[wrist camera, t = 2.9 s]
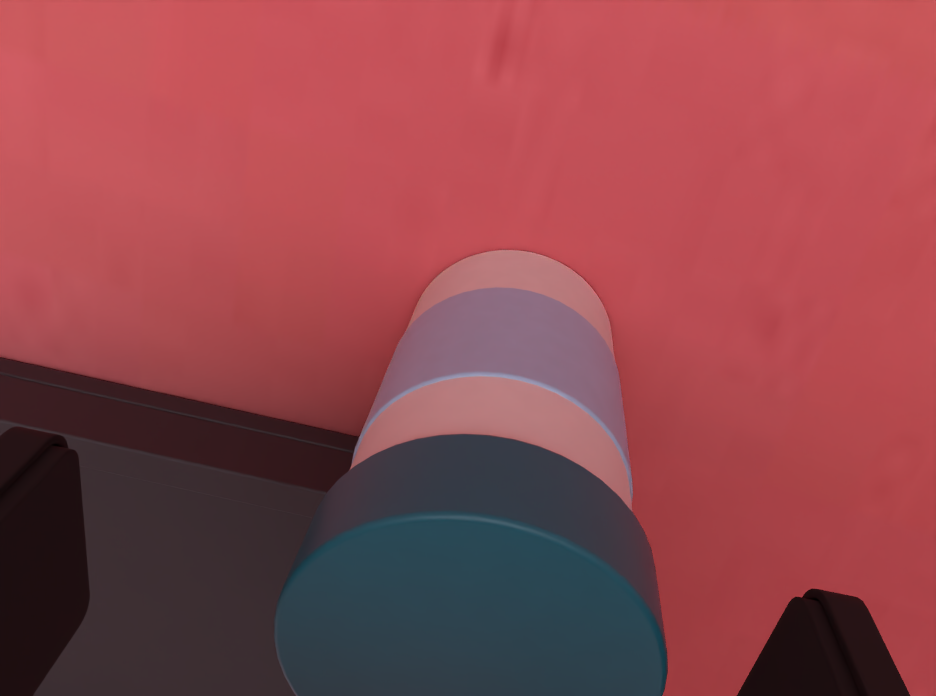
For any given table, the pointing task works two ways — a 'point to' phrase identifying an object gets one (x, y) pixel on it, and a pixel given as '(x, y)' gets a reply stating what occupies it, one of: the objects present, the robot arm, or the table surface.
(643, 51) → the table surface
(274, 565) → the desk tray
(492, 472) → the pill bottle
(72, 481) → the robot arm
